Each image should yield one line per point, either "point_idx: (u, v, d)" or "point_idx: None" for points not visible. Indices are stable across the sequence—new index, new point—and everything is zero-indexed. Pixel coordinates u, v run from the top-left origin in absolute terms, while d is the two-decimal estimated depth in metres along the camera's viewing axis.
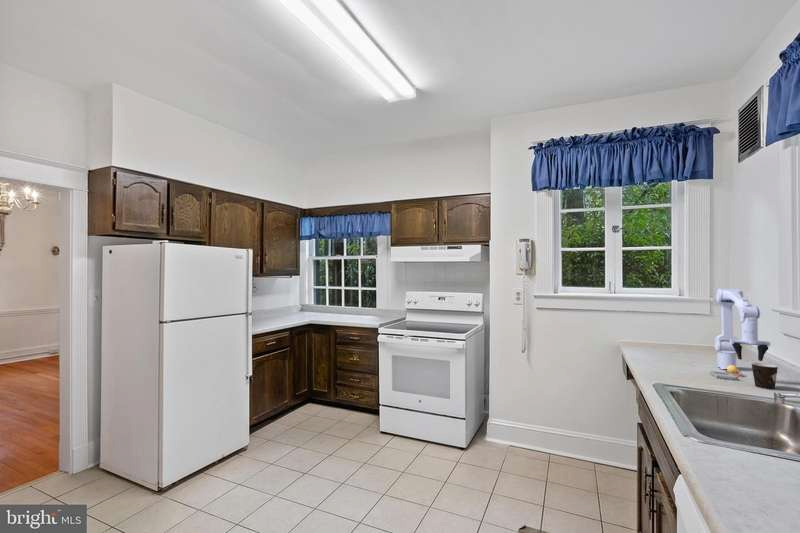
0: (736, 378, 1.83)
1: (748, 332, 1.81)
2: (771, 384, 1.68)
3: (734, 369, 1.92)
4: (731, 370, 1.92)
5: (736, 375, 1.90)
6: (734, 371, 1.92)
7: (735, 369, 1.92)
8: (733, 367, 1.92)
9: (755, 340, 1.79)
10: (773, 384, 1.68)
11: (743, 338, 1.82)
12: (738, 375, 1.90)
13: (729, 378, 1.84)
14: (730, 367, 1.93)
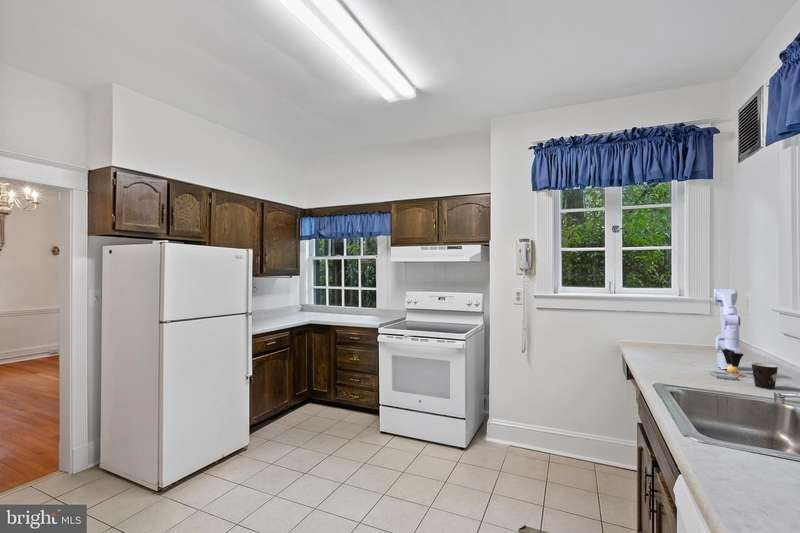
0: (736, 378, 1.83)
1: None
2: (771, 384, 1.68)
3: (734, 369, 1.92)
4: (731, 370, 1.92)
5: (736, 375, 1.90)
6: (734, 371, 1.92)
7: (735, 369, 1.92)
8: (733, 367, 1.92)
9: (726, 346, 1.94)
10: (773, 384, 1.68)
11: None
12: (738, 375, 1.90)
13: (729, 378, 1.84)
14: (730, 367, 1.93)
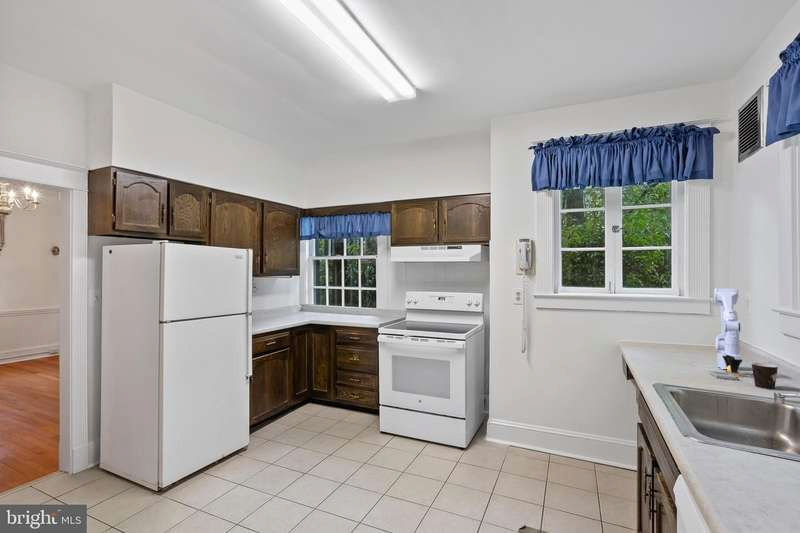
0: (736, 378, 1.83)
1: None
2: (771, 384, 1.68)
3: None
4: None
5: (736, 375, 1.90)
6: None
7: None
8: None
9: (726, 352, 1.94)
10: (773, 384, 1.68)
11: None
12: (738, 375, 1.90)
13: (729, 378, 1.84)
14: None
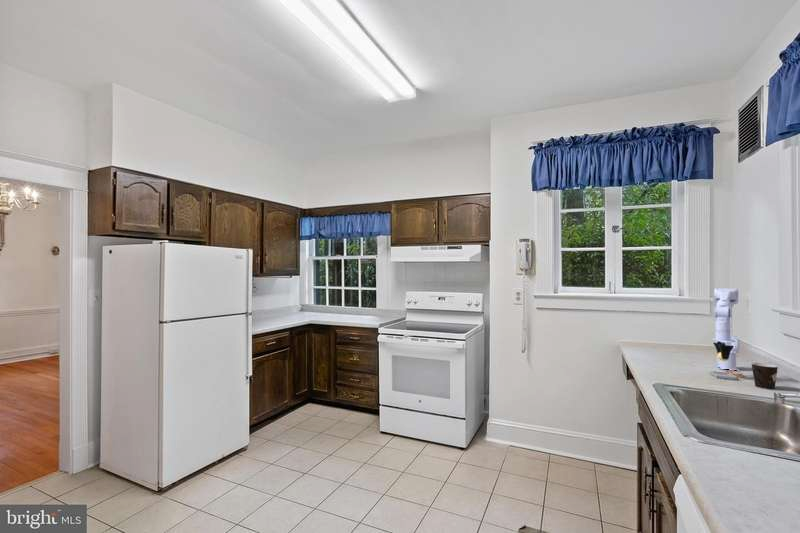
0: (736, 378, 1.83)
1: None
2: (771, 384, 1.68)
3: None
4: None
5: (736, 375, 1.90)
6: None
7: None
8: None
9: (717, 338, 1.89)
10: (773, 384, 1.68)
11: None
12: (738, 375, 1.90)
13: (729, 378, 1.84)
14: None
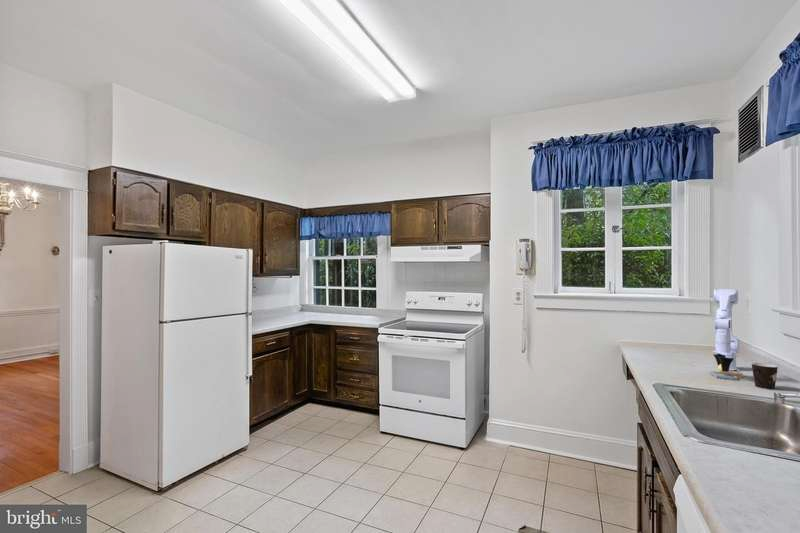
0: (736, 378, 1.83)
1: None
2: (771, 384, 1.68)
3: None
4: None
5: (736, 375, 1.90)
6: None
7: None
8: None
9: (717, 350, 1.89)
10: (773, 384, 1.68)
11: None
12: (738, 375, 1.90)
13: (729, 378, 1.84)
14: None
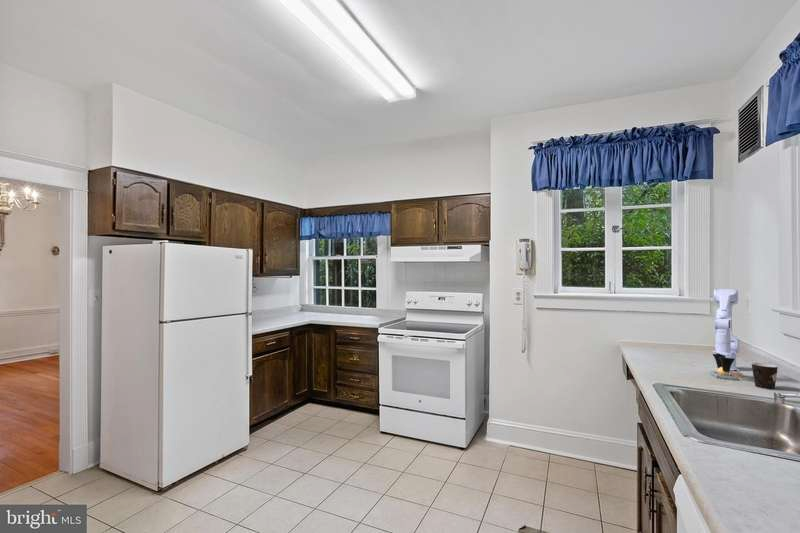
0: (736, 378, 1.83)
1: None
2: (771, 384, 1.68)
3: None
4: (723, 372, 1.87)
5: (736, 375, 1.90)
6: (725, 373, 1.87)
7: None
8: None
9: (717, 350, 1.89)
10: (773, 384, 1.68)
11: None
12: (738, 375, 1.90)
13: (729, 378, 1.84)
14: (721, 369, 1.88)
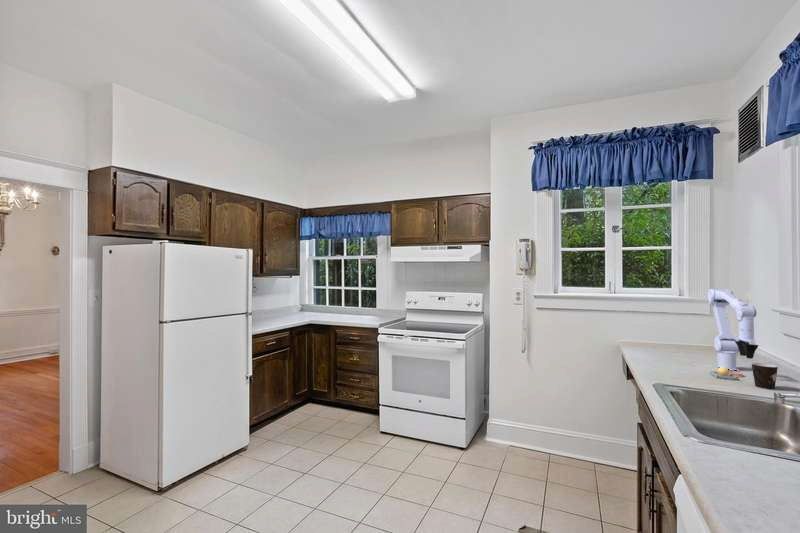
0: (736, 378, 1.83)
1: None
2: (771, 384, 1.68)
3: (725, 371, 1.87)
4: (723, 372, 1.87)
5: (736, 375, 1.90)
6: (725, 373, 1.87)
7: (726, 371, 1.87)
8: (724, 369, 1.87)
9: (740, 337, 1.91)
10: (773, 384, 1.68)
11: None
12: (738, 375, 1.90)
13: (729, 378, 1.84)
14: (721, 369, 1.88)
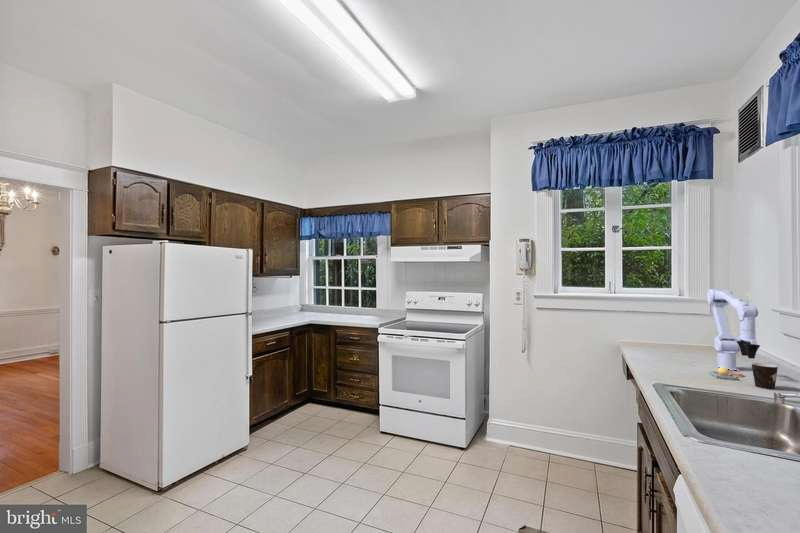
0: (736, 378, 1.83)
1: None
2: (771, 384, 1.68)
3: (725, 371, 1.87)
4: (723, 372, 1.87)
5: (736, 375, 1.90)
6: (725, 373, 1.87)
7: (726, 371, 1.87)
8: (724, 369, 1.87)
9: (742, 337, 1.91)
10: (773, 384, 1.68)
11: None
12: (738, 375, 1.90)
13: (729, 378, 1.84)
14: (721, 369, 1.88)
